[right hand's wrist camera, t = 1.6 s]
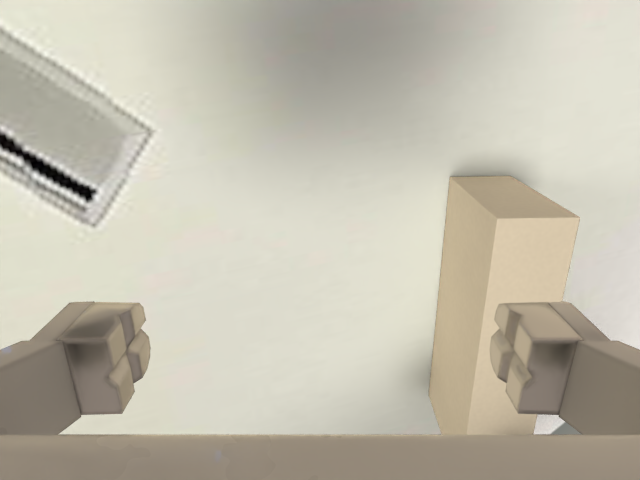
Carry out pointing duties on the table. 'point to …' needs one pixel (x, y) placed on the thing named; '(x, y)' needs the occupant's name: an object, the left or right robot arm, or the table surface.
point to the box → (491, 294)
